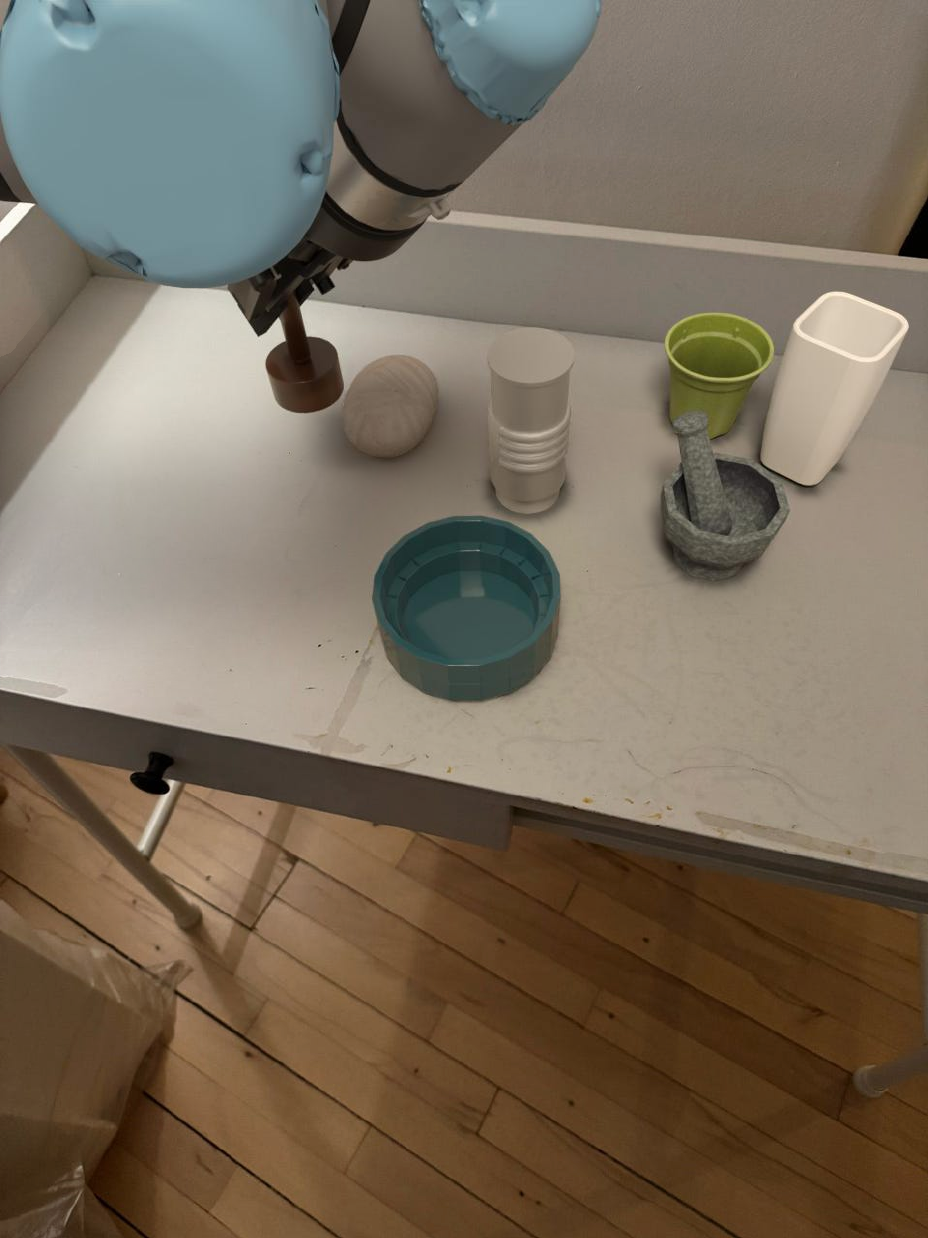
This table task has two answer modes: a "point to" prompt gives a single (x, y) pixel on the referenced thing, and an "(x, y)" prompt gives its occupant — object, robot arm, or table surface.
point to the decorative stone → (390, 405)
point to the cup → (828, 383)
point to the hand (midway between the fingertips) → (264, 311)
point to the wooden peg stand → (303, 366)
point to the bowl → (467, 607)
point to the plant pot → (715, 366)
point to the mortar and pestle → (718, 505)
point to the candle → (529, 417)
